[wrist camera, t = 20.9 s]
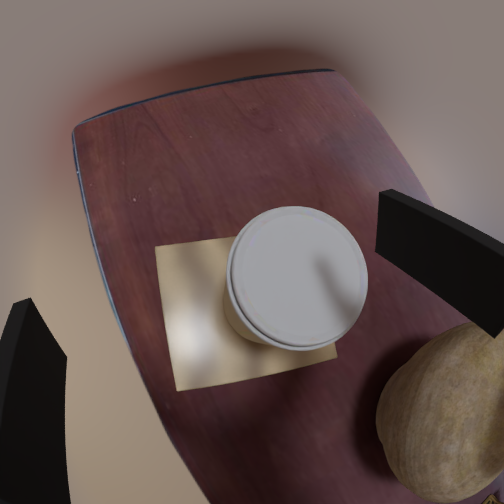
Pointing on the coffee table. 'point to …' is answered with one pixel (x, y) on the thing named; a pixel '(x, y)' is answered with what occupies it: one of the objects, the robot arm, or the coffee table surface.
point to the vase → (446, 415)
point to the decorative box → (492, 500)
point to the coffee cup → (294, 279)
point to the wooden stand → (213, 322)
